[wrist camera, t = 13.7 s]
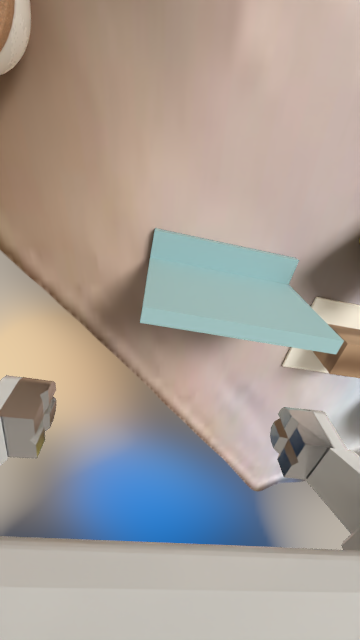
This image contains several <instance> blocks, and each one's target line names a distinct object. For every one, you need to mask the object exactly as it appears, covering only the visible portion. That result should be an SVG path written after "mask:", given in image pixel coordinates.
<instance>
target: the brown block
mask: <svg viewBox="0 0 360 640" xmlns="http://www.w3.org/2000/svg"><path fill="white" fill-rule="evenodd" d="M328 325H329V326H330V327H331V328H332V329H333V330H334V331H335V332H336V333H337V334H338V335H339V336H340V337H341V338H342V339H343V340H344V342H343V344H342V346H341V347H340V349H339V351H338V352H337V354H330V353H324V352H318V351H313V353H314V354H315V355H316V356H317V358H318V359H319V360H320V362H321V363H322V364H323V366H324V367H325V368H326V370H327V371H328V372H329V373H330V374H336V375H342V376H349V377H356V378H360V330H359V329H354V328H348V327H343V326H337V325H332V324H328Z"/></svg>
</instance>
